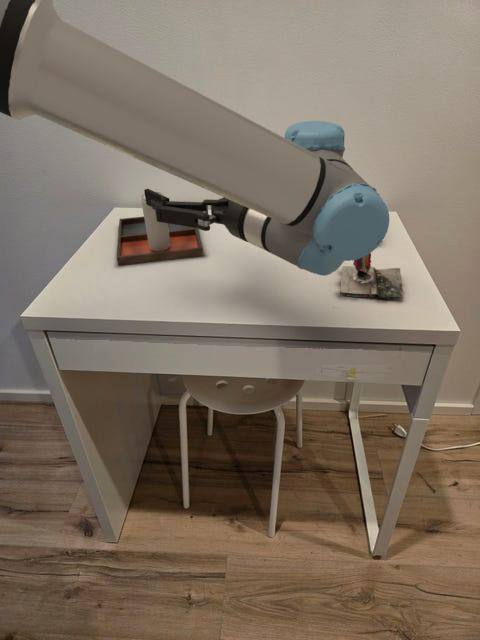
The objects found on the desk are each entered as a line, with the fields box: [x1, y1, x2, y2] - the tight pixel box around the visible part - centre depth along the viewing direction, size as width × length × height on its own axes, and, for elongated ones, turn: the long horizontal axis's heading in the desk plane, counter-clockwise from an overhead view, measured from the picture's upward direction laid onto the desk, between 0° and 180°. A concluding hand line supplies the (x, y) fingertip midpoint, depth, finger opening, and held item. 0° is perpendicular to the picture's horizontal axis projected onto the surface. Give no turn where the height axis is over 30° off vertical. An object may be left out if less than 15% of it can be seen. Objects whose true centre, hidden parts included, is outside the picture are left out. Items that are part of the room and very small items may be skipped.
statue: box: [339, 252, 404, 301], centre depth 79 cm, size 11×9×15 cm
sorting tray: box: [116, 216, 204, 266], centre depth 100 cm, size 18×20×2 cm
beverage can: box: [140, 191, 171, 252], centre depth 93 cm, size 5×5×12 cm
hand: (177, 186), depth 81 cm, fingers open, 13 cm apart
